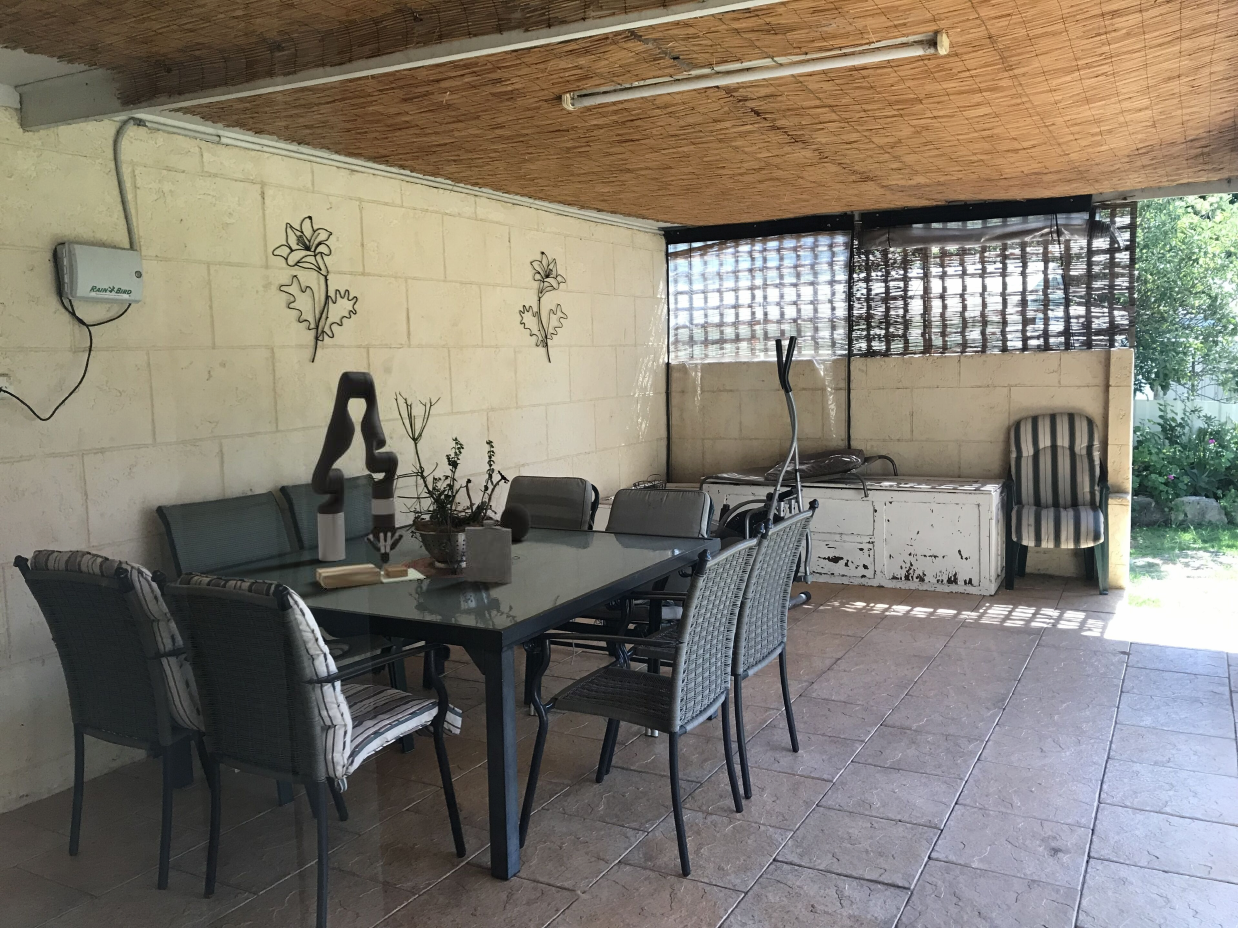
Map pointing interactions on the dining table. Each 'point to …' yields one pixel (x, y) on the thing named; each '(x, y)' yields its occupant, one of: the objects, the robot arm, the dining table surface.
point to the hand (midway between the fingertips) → (384, 563)
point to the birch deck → (348, 575)
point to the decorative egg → (516, 521)
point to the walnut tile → (395, 571)
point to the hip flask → (488, 553)
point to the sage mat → (411, 576)
